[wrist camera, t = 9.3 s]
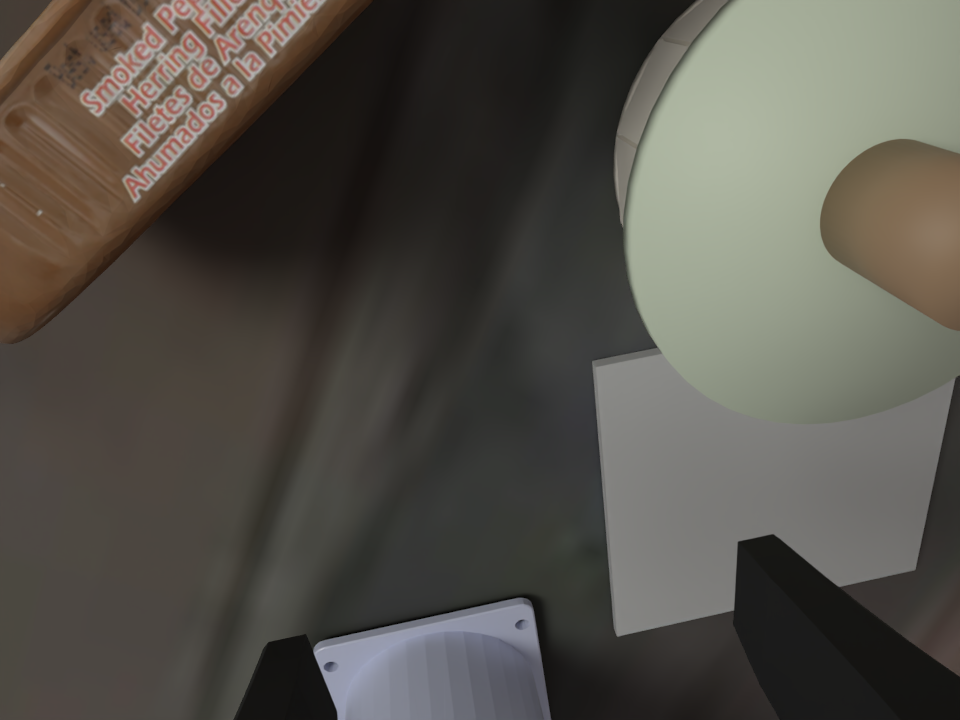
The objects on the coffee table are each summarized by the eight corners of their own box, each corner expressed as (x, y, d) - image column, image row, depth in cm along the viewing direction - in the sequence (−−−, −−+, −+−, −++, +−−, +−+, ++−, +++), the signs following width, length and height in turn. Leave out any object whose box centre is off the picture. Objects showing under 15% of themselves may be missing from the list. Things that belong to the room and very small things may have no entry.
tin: (458, -357, 14) (563, -724, 7) (556, -199, 15) (731, -356, 8) (-15, 170, 17) (-300, 320, 10) (100, 261, 18) (-72, 452, 11)
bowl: (905, 266, 22) (1022, 330, 18) (620, 323, 22) (677, 401, 18) (957, -73, 18) (1126, -85, 14) (601, -11, 17) (671, -5, 13)
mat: (908, 562, 28) (915, 569, 28) (613, 628, 28) (616, 636, 27) (964, 285, 23) (973, 290, 22) (592, 360, 22) (596, 367, 22)
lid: (1045, 361, 19) (1190, 445, 15) (636, 451, 18) (696, 557, 15) (1179, -146, 13) (1447, -185, 10) (604, -40, 13) (688, -43, 10)
